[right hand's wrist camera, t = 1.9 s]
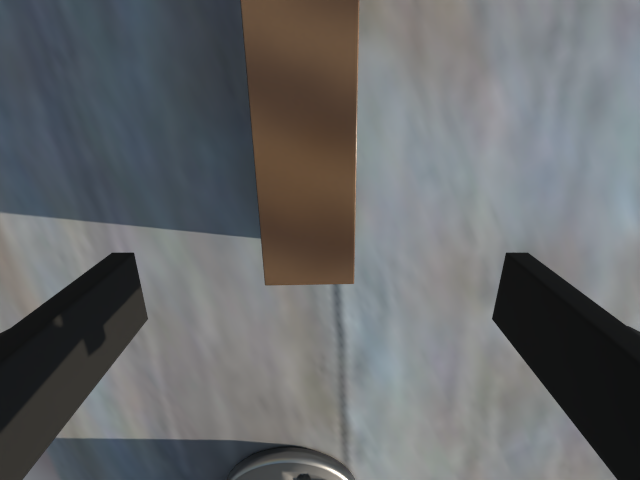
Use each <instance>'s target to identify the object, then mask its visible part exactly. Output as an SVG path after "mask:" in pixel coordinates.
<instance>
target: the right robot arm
mask: <svg viewBox="0 0 640 480" xmlns="http://www.w3.org/2000/svg"><path fill="white" fill-rule="evenodd" d="M147 319H148V317H147V312H146V308H145V303H144V298H143V293H142V289H141V284H140V279H139V274H138V270H137V265H136V260H135V256H134V253H111V254H110V255H108V256H107V257H106V258H104V259H103V260H102V261H100V262H99V263H98V264H96V265H95V266H94V267H92V268H91V269H90V270H88V271H87V272H86V273H84V274H83V275H82V276H80V277H79V278H78V279H76V280H75V281H73V282H72V283H71V284H69V285H68V286H67V287H65V288H64V289H63V290H61V291H60V292H59V293H57V294H56V295H55V296H53V297H52V298H51V299H49V300H48V301H47V302H45V303H44V304H42V305H41V306H40V307H38V308H37V309H36V310H34V311H33V312H32V313H30V314H29V315H28V316H26V317H25V318H24V319H22V320H21V321H20V322H18V323H17V324H16V325H14V326H13V327H12V328H10V329H8V330H6V331H4V332H2V333H0V480H23V478H24V477H25V476H26V474H27V473H28V472H29V471H30V469H31V468H32V467H33V466H34V464H35V463H36V462H37V460H38V459H39V458H40V457H41V455H42V454H43V453H44V451H45V450H46V449H47V448H48V446H49V445H50V444H51V442H52V441H53V440H54V439H55V437H56V436H57V435H58V434H59V432H60V431H61V430H62V428H63V427H64V426H65V425H66V423H67V422H68V421H69V419H70V418H71V417H72V416H73V414H74V413H75V412H76V410H77V409H78V408H79V407H80V405H81V404H82V403H83V401H84V400H85V399H86V398H87V396H88V395H89V394H90V393H91V391H92V390H93V389H94V387H95V386H96V385H97V384H98V382H99V381H100V380H101V378H102V377H103V376H104V375H105V373H106V372H107V371H108V369H109V368H110V367H111V366H112V364H113V363H114V362H115V360H116V359H117V358H118V357H119V355H120V354H121V353H122V352H123V350H124V349H125V348H126V346H127V345H128V344H129V343H130V341H131V340H132V339H133V337H134V336H135V335H136V334H137V332H138V331H139V330H140V328H141V327H142V326H143V325H144V323H145V322H146V321H147ZM492 319H493V321H494V322H495V323H496V325H497V326H498V327H499V328H500V330H501V331H502V332H503V334H504V335H505V336H506V337H507V339H508V340H509V341H510V343H511V344H512V345H513V346H514V348H515V349H516V350H517V352H518V353H519V354H520V355H521V357H522V358H523V359H524V360H525V362H526V363H527V364H528V366H529V367H530V368H531V369H532V371H533V372H534V373H535V375H536V376H537V377H538V378H539V380H540V381H541V382H542V384H543V385H544V386H545V387H546V389H547V390H548V391H549V393H550V394H551V395H552V396H553V398H554V399H555V400H556V401H557V403H558V404H559V405H560V407H561V408H562V409H563V410H564V412H565V413H566V414H567V416H568V417H569V418H570V419H571V421H572V422H573V423H574V425H575V426H576V427H577V428H578V430H579V431H580V432H581V434H582V435H583V436H584V437H585V439H586V440H587V441H588V442H589V444H590V445H591V446H592V448H593V449H594V450H595V451H596V453H597V454H598V455H599V457H600V458H601V459H602V460H603V462H604V463H605V464H606V466H607V467H608V468H609V469H610V471H611V472H612V473H613V475H614V476H615V477H616V478H617V480H640V332H639V331H637V330H635V329H633V328H631V327H629V326H626V325H624V324H623V323H622V322H620V321H619V320H618V319H616V318H615V317H614V316H612V315H611V314H610V313H608V312H607V311H606V310H604V309H603V308H602V307H600V306H599V305H598V304H596V303H595V302H593V301H592V300H591V299H589V298H588V297H587V296H585V295H584V294H583V293H581V292H580V291H579V290H577V289H576V288H575V287H573V286H572V285H571V284H569V283H568V282H567V281H565V280H564V279H562V278H561V277H560V276H558V275H557V274H556V273H554V272H553V271H552V270H550V269H549V268H548V267H546V266H545V265H544V264H542V263H541V262H540V261H538V260H537V259H536V258H534V257H533V256H532V255H530V254H529V253H506V256H505V260H504V265H503V270H502V274H501V279H500V284H499V289H498V293H497V298H496V303H495V308H494V312H493V317H492ZM227 480H355V479H354V477H353V475H352V474H351V472H350V471H349V470H348V469H347V468H346V467H345V466H344V465H343V464H342V463H340V462H339V461H337V460H336V459H334V458H332V457H330V456H328V455H326V454H323V453H321V452H317V451H314V450H310V449H304V448H294V447H285V448H275V449H269V450H265V451H262V452H259V453H256V454H254V455H251V456H249V457H248V458H246V459H244V460H243V461H241V462H240V463H239V464H238V465H237V466H236V467H234V469H233V470H232V471H231V473H230V474H229V476H228V478H227Z"/></svg>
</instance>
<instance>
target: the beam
mask: <svg viewBox="0 0 640 480" xmlns="http://www.w3.org/2000/svg"><path fill="white" fill-rule="evenodd" d="M240 1H241V13H242V24H243V36H244V47H245V59H246V71H247V82H248V94H249V105H250V117H251V128H252V140H253V151H254V163H255V174H256V186H257V197H258V209H259V221H260V232H261V244H262V255H263V267H264V278H265V285H313V284H354V259H355V204H356V148H357V93H358V37H359V0H240Z"/></svg>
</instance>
